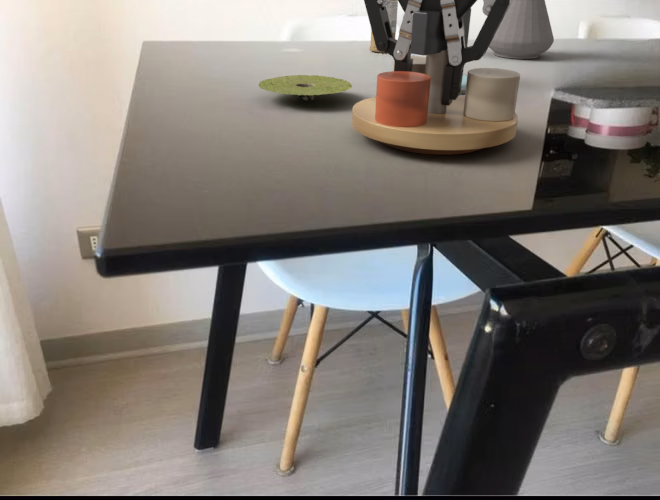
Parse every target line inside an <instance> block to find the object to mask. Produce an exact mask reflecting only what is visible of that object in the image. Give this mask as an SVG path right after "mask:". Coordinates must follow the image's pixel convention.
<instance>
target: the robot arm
mask: <svg viewBox="0 0 660 500" xmlns="http://www.w3.org/2000/svg"><path fill="white" fill-rule="evenodd" d="M482 1H483V5H482V13H483V14H484V16H486V18H485V20H484V22H483V24H482V26H481V28H480V30H479V32H478V34H477V36H476V38H475V40H474V42H473V43H472V45H470V46H467V47H466V48H465V40H464V21H463V16H464V15H465V14H466V13H467V12H468V10H469V9H470V8H471V9H472V7H473V6H474V5H475V4H476V2H478V0H398V4H399V5H400V7H401V9H402V11H403V12H404V13H403V14H404V17H403V16H402V21H401V24H400V27H399V30H398V38H397V39H396V38H395V39H394V37H393V33H392V29H391V25H390V21H389V17H388V13H387V9H386V6H388V5H389V4H390V0H363V2H364V6H365V10H366V13H367V18H368V22H369V25H370V30H371V29H372V33H373V37H374V41H375V45H376V48H377V50H378V51H380V52H386V53H385V54H388V55H389V56H391V57H392V59H394V62H395V64H394V71H407V72H412V66H413V59H411V53H410V50H411V36H412V22H413V12H414V11H423V10H433V11H442V15H443V23H444V32H445V39H446V41H447V49H448V58H449V65H447V66H446V71H445V80H444V88H443V96H442V105H448V106H449V105H450V104H451V103H452V101H453V100H456V99H457V97H458V96H459V94H460V92H461V85H462V77H463V74H464V68H465V65H466V64H467V63H470V62H474V61H479V60H481V59H482V58H483V57H484V55H485V54H486V53H487V51H488V49H489V45H490V43H491V41H492V39H493V37H494V35H495V33H496V32H497V30H498V28H499V26H500V24H501V22H502V20H503V18H504V16H505V14H506V12H507V10H508V8H509V6H510V4H511V2H512V0H482ZM458 22H459V25H458ZM451 25H452V27H451Z"/></svg>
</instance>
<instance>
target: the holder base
mask: <svg viewBox="0 0 660 500" xmlns="http://www.w3.org/2000/svg"><path fill="white" fill-rule="evenodd" d="M381 144H383V145H385V146H388V147H390V148H394V149H397V150H400V151H404V152H409V153H415V154H423V155H434V156H435V155H436V156H437V155H438V156H439V155H440V156H441V155H442V156H443V155H444V156H445V155H446V156H449V155H450V156H451V155H462V154H468V153H473V152H477V151H480V150H482V149H483V148H481V149H471V150H430V149H418V148H410V147H403V146H398V145H392V144H388V143H384V142H381Z"/></svg>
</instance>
